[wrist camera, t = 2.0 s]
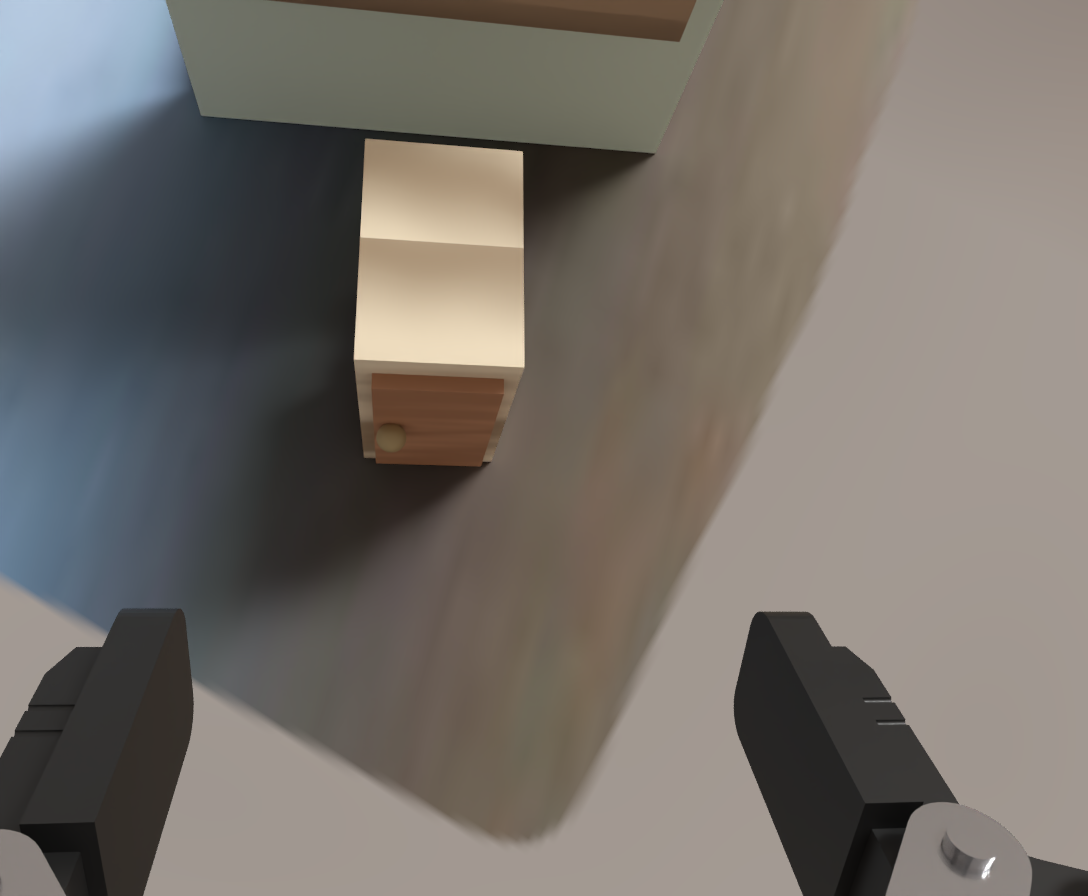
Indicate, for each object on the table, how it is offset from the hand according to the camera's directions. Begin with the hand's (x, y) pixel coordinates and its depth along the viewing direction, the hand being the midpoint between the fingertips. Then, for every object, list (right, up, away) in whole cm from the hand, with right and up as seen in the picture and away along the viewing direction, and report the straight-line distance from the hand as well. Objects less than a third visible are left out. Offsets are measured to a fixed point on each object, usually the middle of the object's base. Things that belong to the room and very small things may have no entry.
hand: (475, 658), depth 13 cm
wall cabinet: (-4, +5, +25) cm, 25 cm away
